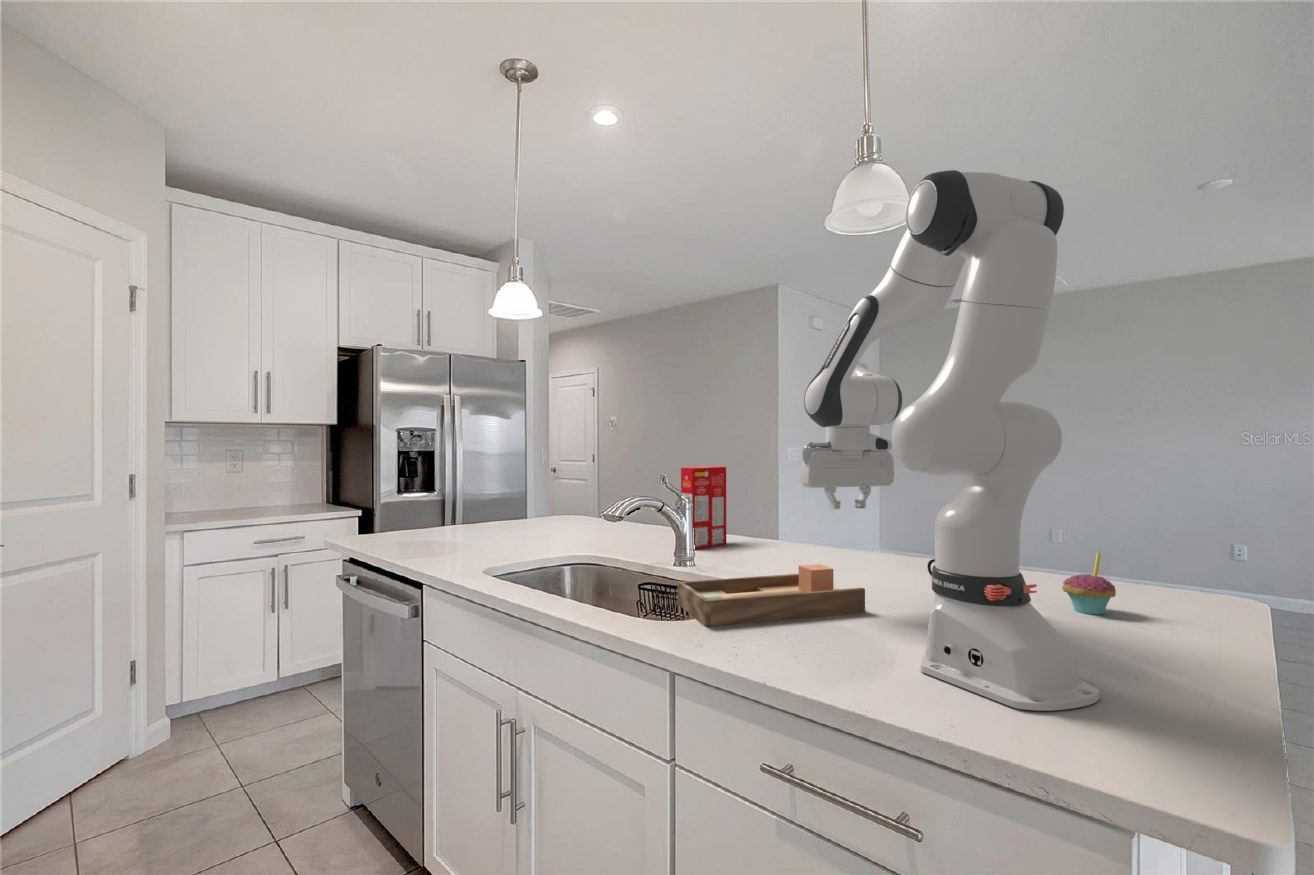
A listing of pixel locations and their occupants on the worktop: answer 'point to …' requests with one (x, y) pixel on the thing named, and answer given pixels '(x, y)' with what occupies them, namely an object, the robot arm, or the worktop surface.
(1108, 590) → the cupcake
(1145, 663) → the worktop surface
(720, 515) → the food packaging
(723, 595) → the trap lane
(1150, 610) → the worktop surface
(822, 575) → the block
